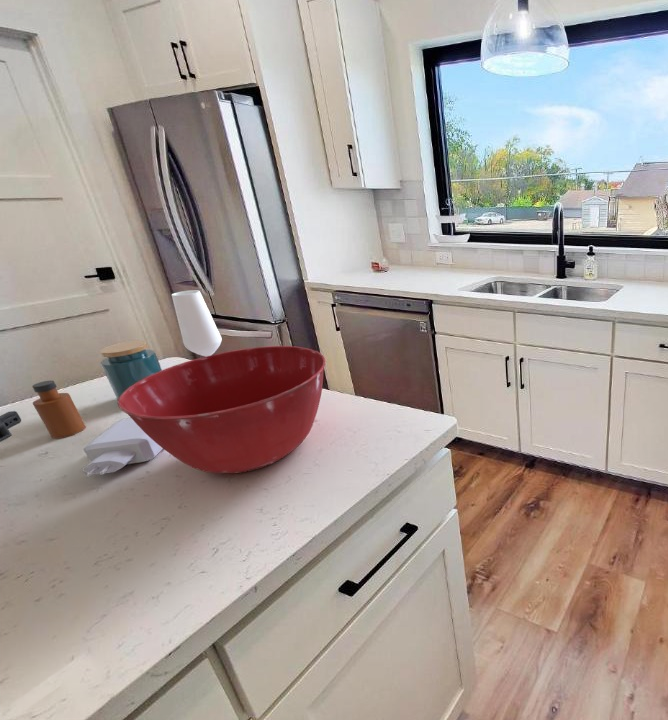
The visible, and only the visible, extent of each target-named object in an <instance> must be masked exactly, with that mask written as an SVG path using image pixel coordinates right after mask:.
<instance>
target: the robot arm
mask: <svg viewBox="0 0 668 720" xmlns="http://www.w3.org/2000/svg"><path fill="white" fill-rule="evenodd" d="M21 423H22V418H21V416H20V415H19V413H18V412H17V411H15V410H13V411H12V410H11V411H7V412H5V413H3V414H1V415H0V443H1V442H4V441H6V440H7V439H9V438H11V437H12V433H11V431H10V430H9V429H11V428H13V427H15V426H17V425H19V424H21Z"/></svg>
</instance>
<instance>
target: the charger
mask: <svg viewBox="0 0 668 720" xmlns="http://www.w3.org/2000/svg"><path fill="white" fill-rule="evenodd" d="M162 450H164V449H163V448H162V447H161V446H159V445H158V444H157V443H156V442H154V441H153V440H152V439H151V438H150V437H149V436H148V435H147V434H146V433H145V432H144V431H143V430H142V429H141V428H140V427H139V426H138V425H137V424H136V423H135V422H134V421H133V420H132V418H131V417H125V418H120V419H119V420H118V421H116V422H115V423H113V424H112V425H111V426H110V427H108V428H107V429H106V430H104V431H103V432H102V433H100V435H98V436H97V437H96V438H94V439H93V440H92V441H90V442H89V443H88V444H86V445H85V446H84V447H83V451H84V454H85V455H86V457H87V459H88V461H89V463H88V464H86V465H85V466H84V467H83V469H82V471H83V472H86V473H87V474H86V475H85V476H86V477H91V476H92V475H93V474H95V475H101V476H102V475H104V474H108V473H116V472H117V471H119V470H120V469H123V468H124V467H125V466H126V465H131V464H137V463H138V464H139V463H143V462H149V461H151V460H154V458H156V457H157V456H158V454H159V453H161V451H162Z"/></svg>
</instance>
